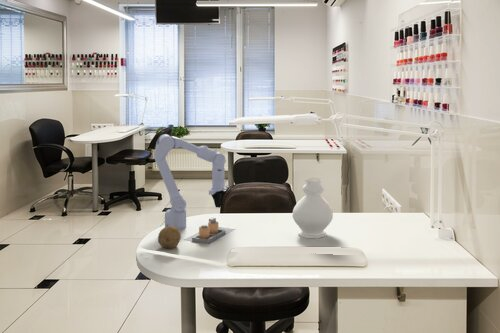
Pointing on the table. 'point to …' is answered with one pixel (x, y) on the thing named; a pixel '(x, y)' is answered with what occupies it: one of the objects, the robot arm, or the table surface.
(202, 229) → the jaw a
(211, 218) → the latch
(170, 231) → the natural sponge
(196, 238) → the housing
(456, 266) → the table surface
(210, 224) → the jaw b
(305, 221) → the decorative vase
